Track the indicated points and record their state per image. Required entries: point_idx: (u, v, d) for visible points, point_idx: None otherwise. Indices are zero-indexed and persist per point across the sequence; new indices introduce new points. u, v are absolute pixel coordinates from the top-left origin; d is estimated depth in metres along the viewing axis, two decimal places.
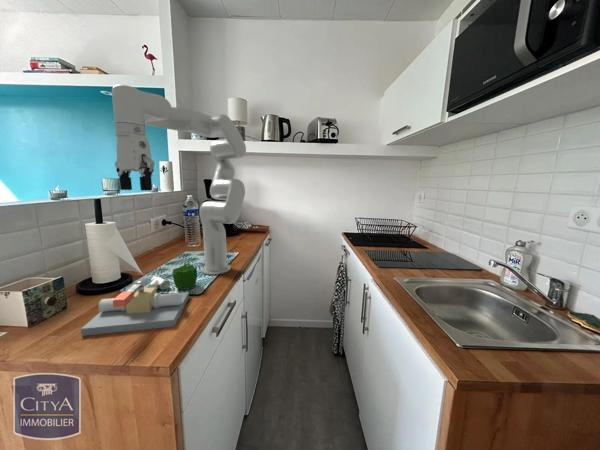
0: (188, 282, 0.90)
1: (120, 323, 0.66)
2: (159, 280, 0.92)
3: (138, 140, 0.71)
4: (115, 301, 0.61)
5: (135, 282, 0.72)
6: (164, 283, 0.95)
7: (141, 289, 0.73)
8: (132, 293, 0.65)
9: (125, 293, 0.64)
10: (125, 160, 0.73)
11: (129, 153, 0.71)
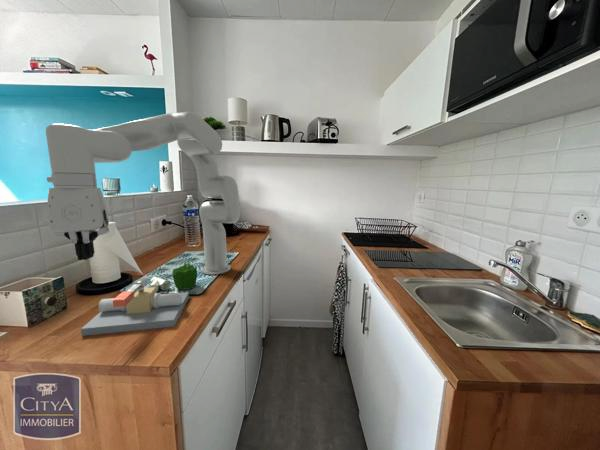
0: (188, 282, 0.90)
1: (120, 323, 0.66)
2: (159, 281, 0.92)
3: None
4: (115, 301, 0.61)
5: (135, 282, 0.72)
6: (164, 284, 0.94)
7: (141, 289, 0.73)
8: (132, 293, 0.65)
9: (125, 293, 0.64)
10: None
11: None
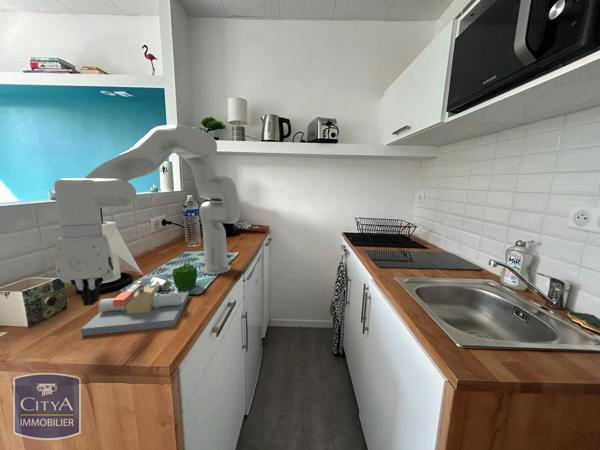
0: (188, 282, 0.90)
1: (120, 323, 0.66)
2: (160, 281, 0.92)
3: None
4: (115, 301, 0.61)
5: (135, 282, 0.72)
6: (164, 284, 0.94)
7: (141, 289, 0.73)
8: (132, 293, 0.65)
9: (125, 293, 0.64)
10: None
11: None
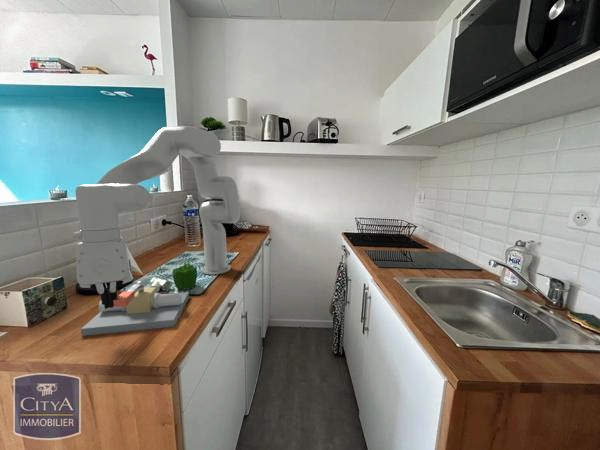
0: (188, 282, 0.90)
1: (120, 323, 0.66)
2: (160, 281, 0.91)
3: None
4: (116, 301, 0.61)
5: (135, 282, 0.72)
6: (165, 284, 0.94)
7: (141, 289, 0.73)
8: (132, 293, 0.65)
9: (125, 293, 0.64)
10: None
11: None
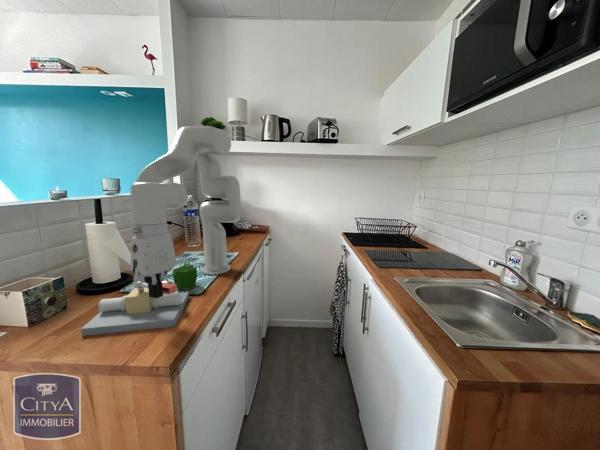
0: (188, 282, 0.90)
1: (120, 323, 0.66)
2: None
3: (132, 243, 0.61)
4: (170, 288, 0.68)
5: (138, 282, 0.72)
6: None
7: (143, 288, 0.73)
8: None
9: (162, 284, 0.70)
10: None
11: None
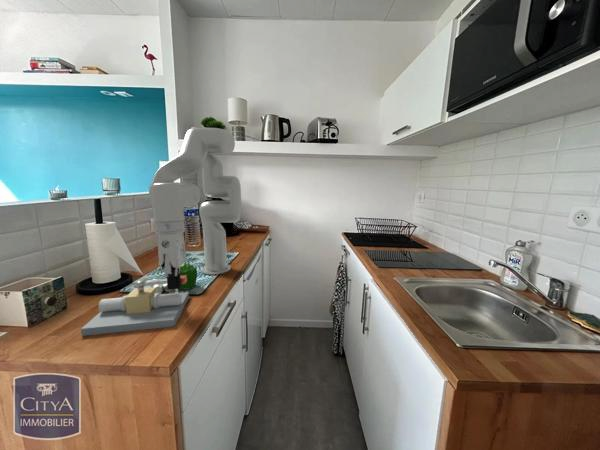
0: (188, 282, 0.90)
1: (120, 323, 0.66)
2: None
3: (161, 239, 0.66)
4: (185, 278, 0.76)
5: (141, 282, 0.72)
6: None
7: None
8: None
9: None
10: None
11: None
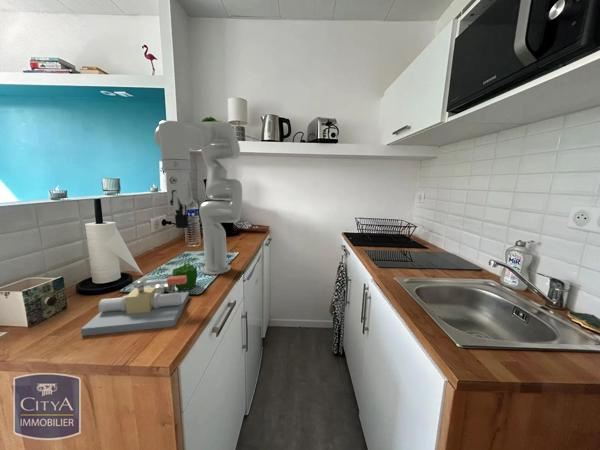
0: (188, 282, 0.90)
1: (120, 323, 0.66)
2: None
3: (169, 176, 0.69)
4: (185, 278, 0.76)
5: (141, 282, 0.72)
6: None
7: None
8: None
9: (172, 277, 0.75)
10: None
11: None
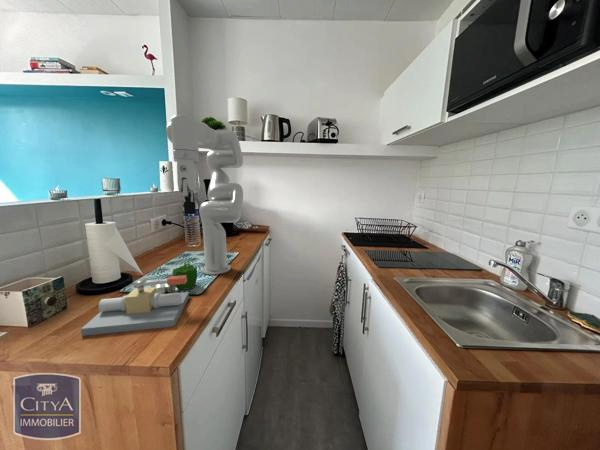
0: (189, 282, 0.90)
1: (120, 323, 0.66)
2: None
3: (180, 165, 0.75)
4: (185, 278, 0.76)
5: (141, 282, 0.72)
6: None
7: None
8: None
9: (172, 277, 0.75)
10: None
11: None
